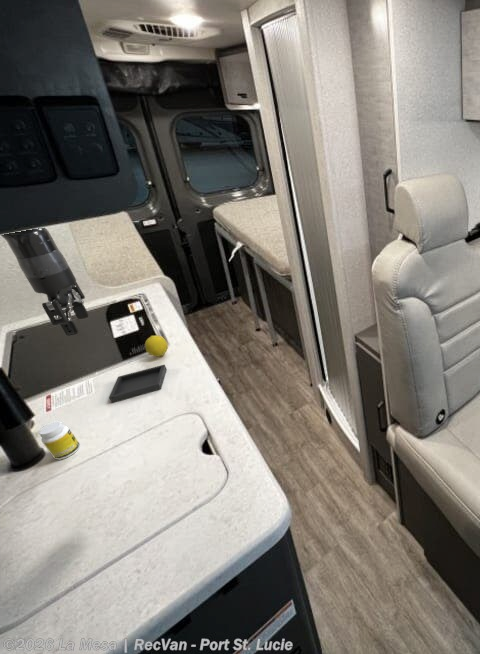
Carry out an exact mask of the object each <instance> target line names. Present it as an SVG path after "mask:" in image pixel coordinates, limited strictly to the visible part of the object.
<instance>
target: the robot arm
mask: <svg viewBox="0 0 480 654" xmlns="http://www.w3.org/2000/svg"><path fill="white" fill-rule="evenodd" d="M0 236H1V237H2V238H3V240H5V241H6V243H7V245H8V246H9V249H10V250H11V252H12V253H13V255H14V257H15V258H16V261H17V263H18V265H19V269H21V271H22V273H23V274H24V276H25V278H26V280H27V281H28V283H29V285H30V287H31V288H32V289H33V291H34V292H35V293H36V294H43V295H46V297H47V301H45V302H42V303H41V306H42V308H43V310H44V312H45V313H46V315H47V317H48V319H49V321H50V322H51V325H52V326H59V325H60V327H61V328H62V330H63V332H64V333H65V335H66V336H68V337H69V336H74V335H77V334H78V333H79V328H78V327H77V325H76V324H75V321H74V320H73V319H72V312H73V313H74V315H75V316H76V318H77V319H78V320H82V319H86V318H88V317H89V316H90V314H89V311H88V310H87V308H86V307H85V305H84V304H85V301H84V299H85V298H86V296H85V295H84V292H83V291H82V289H81V287H80V286H79V284H78V282H77V279H76V277H75V274H74V273H73V271H72V269H71V267H70V265H69V264H68V261H67V260H66V258H65V256H64V255H63V253H62V252H61V250H60V248H59V247H58V246H57V243H56V242H55V240H54V238H53V236H52V235H51V233H50V232H49V230H48V229H47V228H46V227H44V228H38V229H32V230H26V231H21V232H15V233H9V234H4V235H0Z"/></svg>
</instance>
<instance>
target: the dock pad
mask: <svg viewBox="0 0 480 654" xmlns="http://www.w3.org/2000/svg"><path fill="white" fill-rule="evenodd" d="M167 371H168V369H167V367H166V364H161V365H157V366H154V367H153V366H152V367H150V368H146V369H142V370H138V371H134V372H130V373H127V374H123V375H118V376H117V377H116V380H115V383H114V385H113V387H112V390H111V392H110V394H109V396H108V399H109V401H110V402H111V404H114V403H117V402H121V401H125V400H128V399H132V398H135V397H138V396H143V395H146V394H150V393H152V392H153V393H154V392H156V391H160V390H162V388H163V384H164V381H165V377H166V374H167Z"/></svg>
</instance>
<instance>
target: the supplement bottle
mask: <svg viewBox="0 0 480 654" xmlns="http://www.w3.org/2000/svg"><path fill="white" fill-rule="evenodd" d="M38 434H39V436H40V437H41V442H42V444H43V445H44V446H45V448H46V449H47V450H48V452H49V453H50V454H51V456H52V457H53V458H54V459H55V460H65V459H67V458H69V457H71V456H73V455H74V454H75V453H76V452H77V451H78V450H79V449H80V447H81V444H80V442H79V440H78V439H77V438H76V436H75V435H74V433H73V432H72V430H71V429H70V428H69V427H68V426H67V425H65V424H64V423H63V422H62V421H61V420H53V421H51V422H48V423H46V424H44V426H42V427H41V428H40V429H39V430H38Z"/></svg>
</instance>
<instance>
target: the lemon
mask: <svg viewBox="0 0 480 654" xmlns="http://www.w3.org/2000/svg"><path fill="white" fill-rule="evenodd" d="M168 344H169V343H168V342H167V340H166V338H164V337H163V336H161V335H150V337H148V338H147V339H146V340H145V343H144V349H145V351H146V353H147V354H148V355H150V356H152V357H162V356H164V354H166V353H167V351H168V348H169V345H168Z"/></svg>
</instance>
